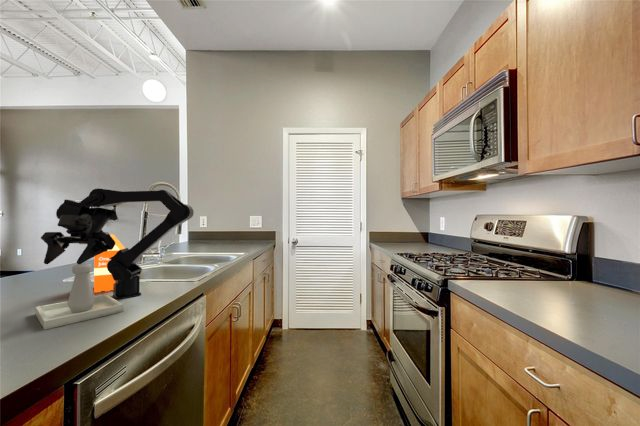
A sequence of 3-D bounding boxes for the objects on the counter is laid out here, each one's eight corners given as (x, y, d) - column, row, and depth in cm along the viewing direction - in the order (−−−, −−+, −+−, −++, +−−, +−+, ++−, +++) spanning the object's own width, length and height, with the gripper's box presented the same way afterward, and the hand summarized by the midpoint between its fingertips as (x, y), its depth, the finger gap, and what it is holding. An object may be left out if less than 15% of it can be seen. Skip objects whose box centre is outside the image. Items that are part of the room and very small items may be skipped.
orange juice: (93, 292, 97) (94, 236, 97) (100, 286, 105) (100, 234, 105) (120, 290, 101) (121, 235, 101) (124, 284, 109) (125, 233, 109)
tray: (106, 300, 88) (106, 294, 88) (123, 311, 78) (123, 304, 78) (35, 314, 76) (35, 306, 76) (44, 329, 66) (44, 321, 66)
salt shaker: (66, 315, 73) (67, 266, 73) (68, 309, 78) (69, 263, 78) (94, 311, 77) (95, 264, 77) (94, 305, 81) (95, 261, 82)
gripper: (47, 205, 84) (6, 245, 73) (109, 205, 84) (77, 246, 73) (69, 229, 92) (36, 269, 81) (126, 230, 92) (100, 269, 81)
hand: (61, 263), depth 79 cm, fingers open, 9 cm apart
